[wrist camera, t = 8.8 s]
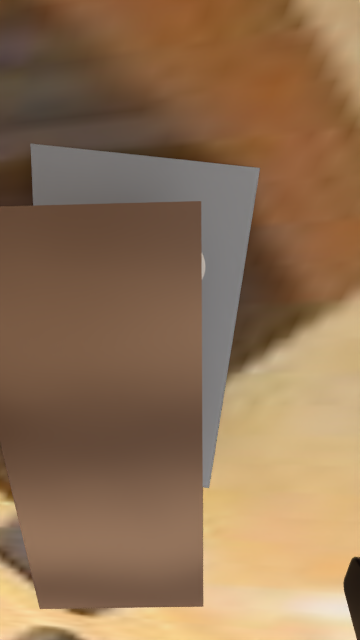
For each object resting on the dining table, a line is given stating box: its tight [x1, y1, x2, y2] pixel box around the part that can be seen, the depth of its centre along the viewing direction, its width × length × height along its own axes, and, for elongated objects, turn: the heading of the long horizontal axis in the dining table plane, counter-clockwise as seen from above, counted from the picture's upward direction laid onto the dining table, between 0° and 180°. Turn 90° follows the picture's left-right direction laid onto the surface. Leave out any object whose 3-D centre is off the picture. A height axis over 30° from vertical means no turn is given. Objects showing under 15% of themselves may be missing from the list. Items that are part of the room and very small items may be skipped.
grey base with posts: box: [31, 144, 260, 488], centre depth 16 cm, size 10×18×6 cm, turn 174°
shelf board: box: [0, 201, 203, 609], centre depth 12 cm, size 14×6×3 cm, turn 1°
